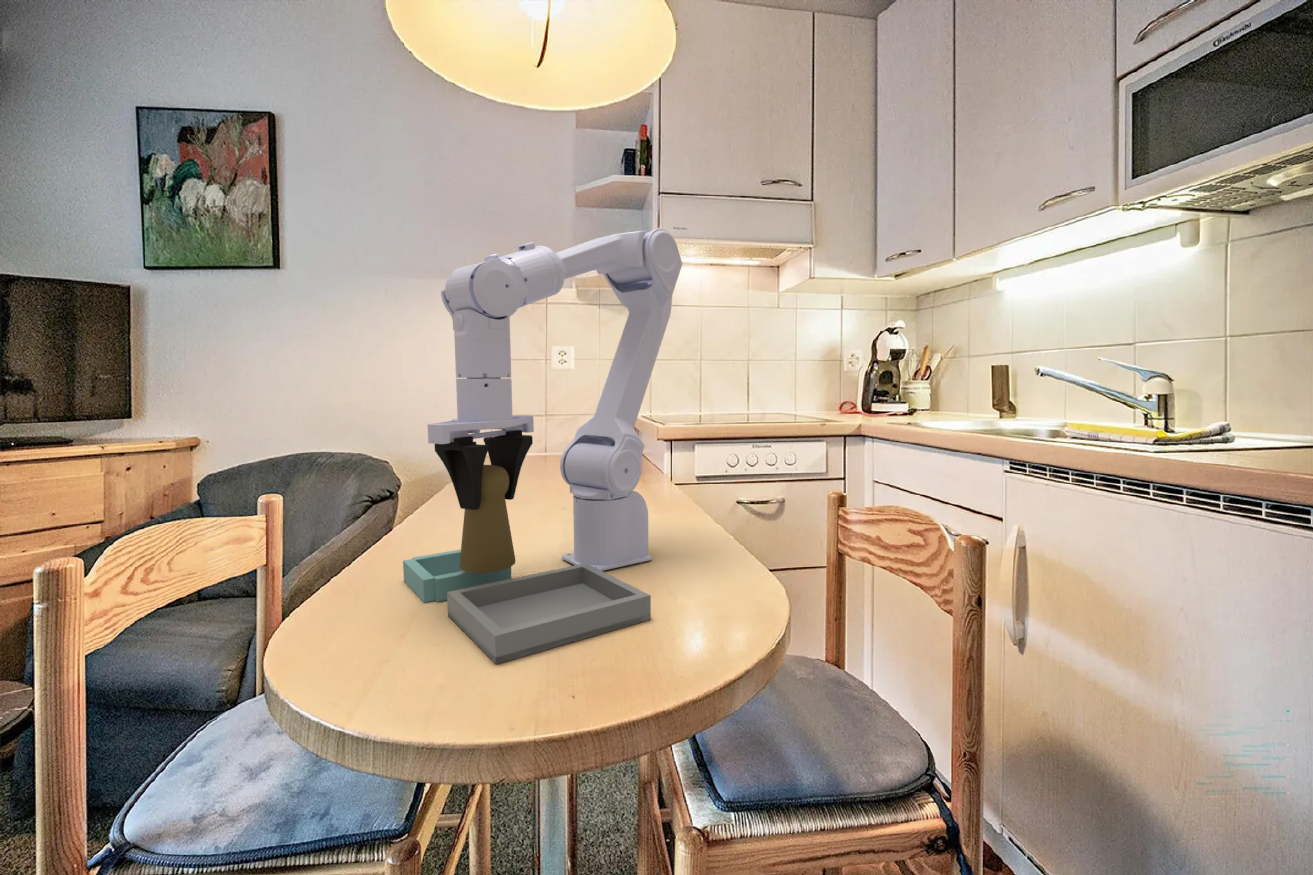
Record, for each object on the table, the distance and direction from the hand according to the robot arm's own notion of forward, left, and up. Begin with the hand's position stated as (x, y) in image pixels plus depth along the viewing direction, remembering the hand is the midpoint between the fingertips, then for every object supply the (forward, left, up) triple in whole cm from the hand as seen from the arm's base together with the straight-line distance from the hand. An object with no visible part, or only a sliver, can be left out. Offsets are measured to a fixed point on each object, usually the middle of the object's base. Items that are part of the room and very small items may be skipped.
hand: (488, 503), depth 66 cm
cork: (0, -1, -7) cm, 7 cm away
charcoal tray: (-2, +10, -10) cm, 14 cm away
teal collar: (+2, -6, -10) cm, 12 cm away
